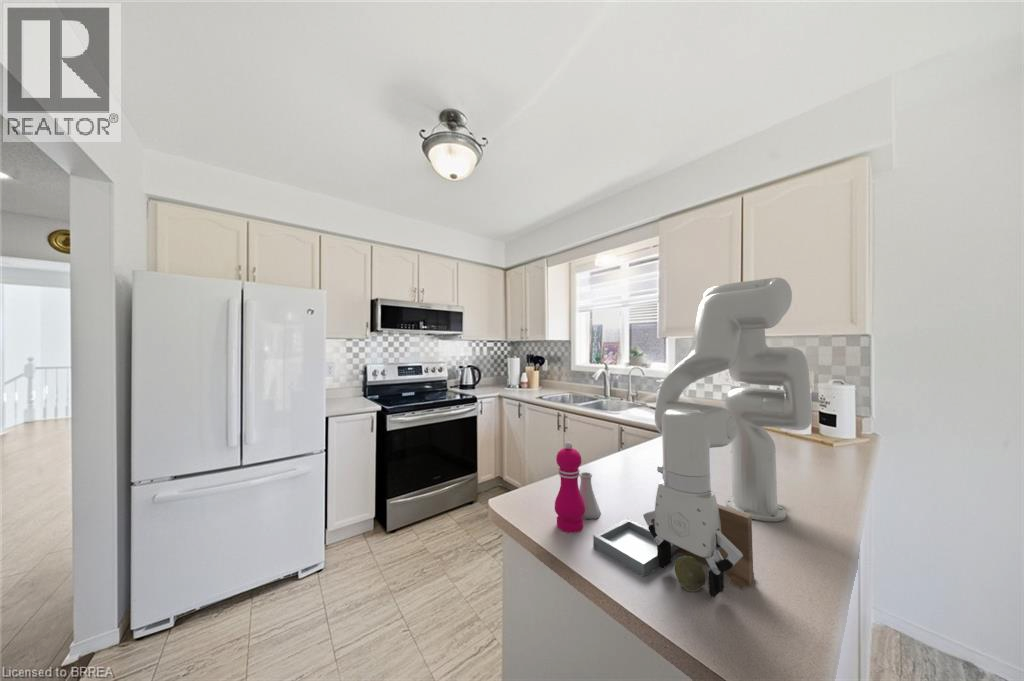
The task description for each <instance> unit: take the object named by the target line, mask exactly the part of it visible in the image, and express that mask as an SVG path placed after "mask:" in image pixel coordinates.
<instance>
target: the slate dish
mask: <svg viewBox="0 0 1024 681" xmlns="http://www.w3.org/2000/svg"><path fill="white" fill-rule="evenodd" d="M592 537H593V542H592V543H593V548H595V549H597V550H598V551H599V552H601V553H603V554H605V555H606V556H609V558H611V559H613V560H614V561H617V562H618V563H619V564H621V565H623V566H624V567H626V568H628V569H629V570H631V571H633V572H634V573H636V574H638V575H639V576H641V577H643V578H645V577H647V576H649V575H650V574H651V573H652V572H654V571H656V570H657V569H659V568H660V567H659V559H658V555H657V544H656V543H655V542H654V537H653V535H652V534H651V532H650V531H649V529H648V526H647V527H646V526H645V525H643V524H640V523H638V522H636V521H634V520H632V519H630V518H626V519H623V520H621V521H619V522H617V523H616V524H614V525H612V526H610V527H607V528H605V529H603V530H601V531H599V532H596V533H595V534H593V536H592ZM670 544H671V559H673V558H674V557H676V556H677V555H678V554H677V553H678V552H677V551H678V550H677V549H678V546H676V545H674V544H672V543H670ZM675 551H676V554H677V555H676V554H675Z"/></svg>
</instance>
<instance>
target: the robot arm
mask: <svg viewBox="0 0 1024 681" xmlns="http://www.w3.org/2000/svg"><path fill="white" fill-rule="evenodd" d="M702 297H703V298H702V300H701V302H700V304H699V305H698V310H697V314H696V320H695V325H694V331H693V336H692V340H691V345H690V346H691V347H690V352H689V354H688V355H687V357H685V358H684V359H683V360H681V361H680V362H679V363H678V364H676V365H675V367H673V368H672V369H671V370H670V371H669V372H668V374H667V375H666V376H665V378H664V379H663V381H662V383H661V384H660V388H659V391H658V395H657V400H656V403H655V404H656V405H655V411H654V424H655V428H656V429H657V431H658V432H659V433H660V434H661V436H662V437H661V439H662V465H660V464H659V465H658V466H657V469H656V470H657V473H660V474H661V475H662V480H660V481H658V486H657V490H656V495H655V504H654V510H651V511H647V512H645V513H644V514H643V515H642V516H643V519H644V521H645V522H646V525H647V528H648V529H649V531H650V532H651V534H652V535H653V537H654V542H655V543H656V544H657V555H658V559H659V567H658V568H659V569H665V568H666V567H668V566H669V565H670V564H671V563H672V558H671V544H670V543H672V544H674V545H676V546H678V547H680V548H682V549H684V550H686V551H688V552H690V553H693V554H695V555H697V556H699V557H702V558H705V559H706V560H707V562H708V564H709V566H710V567H709V568H710V569H709V571H708V573H707V575H708V595H709V596H710V597H711V598H715V597H717V595H719V594H720V593H721V594H722V593H723V591H724V589H725V575H724V571H726V570H729V569H730V568H732V567H733V566H734V565H735V564H736V563H737V562H738V561H739V560H740V559H741V558H742V557H743V554H742V553H741V552H740V551H739V550H738V549H737V548H736V547H735V546H734V545H733V544H732V543H731V542H730V541H729V540H728V539H727V538H726V537H725V536H724V535H723V534H722V532H721V522H720V515H719V510H718V505H717V504H718V501H717V497H716V495H715V491H713V490H711V489H712V488H711V465H710V463H711V462H710V460H711V459H710V449H711V448H713V449H714V448H723V447H726V446H728V445H729V444H730V461H731V462H730V463H731V488H732V490H731V492H732V493H731V495H729V496H727V497H726V498H725V505H726V507H728V508H731V509H733V510H736V511H739V512H742V513H745V514H748V515H751V519H753V520H757V521H762V522H781V521H783V520H785V519H786V518H787V517H786V516H787V514H786V513H787V512H786V510H785V509H784V508H783V507H782V506H780V505H779V504H778V485H777V484H778V481H777V480H778V479H777V457H776V456H777V455H776V453H777V451H776V443H775V441H774V439H773V438H772V436H771V435H770V434H769V433H768V431H767V430H766V429H765V428H767V427H768V428H775V429H781V430H782V429H783V430H789V431H804V430H807V429H808V428H809V427H810V426H811V424H812V420H813V406H812V397H811V395H812V394H811V384H810V382H811V381H810V374H809V371H810V370H809V364H808V359H807V357H806V354H804V352H803V351H802V350H801V349H798V348H797V347H794V346H793V347H791V346H768V345H767V340H766V338H767V337H766V329H771V328H773V327H776V326H777V325H778V324H779V323H780V322H781V320H782V319H783V318H784V317H785V315H786V314H787V313H788V311H789V310H790V307H791V306H792V305H791V304H792V300H793V291H792V288H791V286H790V283H789V282H788V281H787V280H786V279H784V278H781V277H769V278H761V279H753V280H746V281H739V282H731V283H726V284H719V285H715V286H712V287H709V288H708V289H706V290H705V292H704V293H703V296H702ZM727 370H728V373H729V376H730V378H731V379H732V380H733V381H734V382H736V383H739V384H744V385H745V384H746V385H747V384H748V385H758V386H760V385H761V386H773V387H775V386H776V387H777V386H778V387H780V388H782V389H774V388H773V389H772V388H763V387H761V388H760V387H737V388H733V389H731V390H729V391H728V392H727V394H726V395H725V399H724V402H725V404H724V405H725V408H724V407H722V406H717V405H711V404H710V405H708V404H700V403H693V402H684V401H683V402H682V401H679V399H680V398H681V395H682V393H683V392H684V391H685V389H686V388H688V387H689V386H690V385H691V384H693V383H695V382H697V381H700V380H702V379H704V378H707V377H710V376H712V375H715V374H718V373H721V372H724V371H727ZM764 427H765V428H764ZM721 548H723V549H724V550H725V551H726V552H727V554H728V557H727V558H725V559H723V557H722V556H721V554H720V552H719V550H720V549H721Z"/></svg>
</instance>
